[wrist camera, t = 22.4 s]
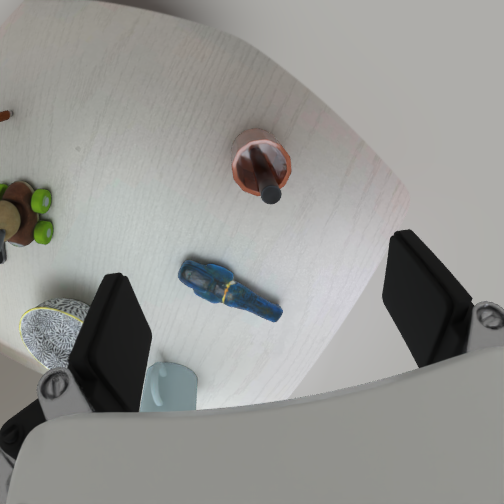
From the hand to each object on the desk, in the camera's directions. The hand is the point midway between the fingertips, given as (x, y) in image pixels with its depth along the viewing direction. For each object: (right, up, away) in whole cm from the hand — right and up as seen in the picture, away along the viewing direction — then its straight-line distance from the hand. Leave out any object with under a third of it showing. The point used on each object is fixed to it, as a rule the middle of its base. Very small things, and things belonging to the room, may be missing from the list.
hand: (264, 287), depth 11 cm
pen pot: (0, +12, +22) cm, 25 cm away
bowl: (-27, -9, +33) cm, 44 cm away
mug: (-15, -19, +40) cm, 47 cm away
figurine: (-3, -3, +31) cm, 32 cm away
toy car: (-31, +7, +23) cm, 39 cm away
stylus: (0, +12, +22) cm, 25 cm away
